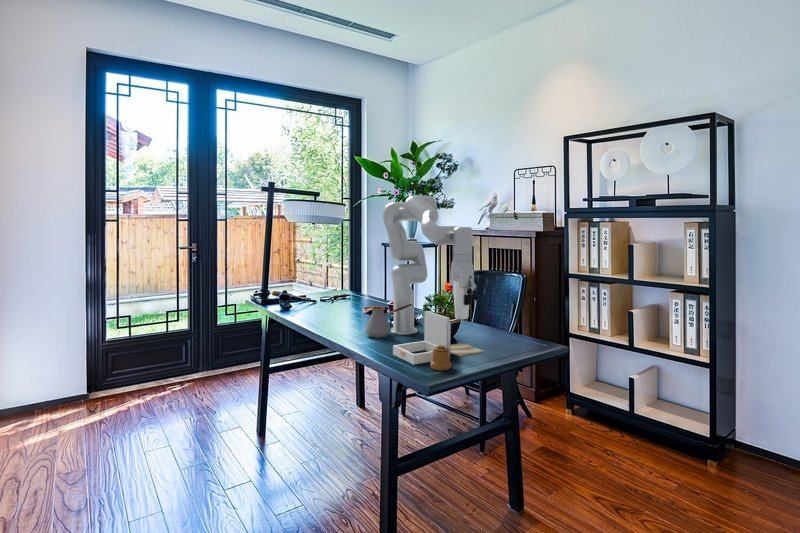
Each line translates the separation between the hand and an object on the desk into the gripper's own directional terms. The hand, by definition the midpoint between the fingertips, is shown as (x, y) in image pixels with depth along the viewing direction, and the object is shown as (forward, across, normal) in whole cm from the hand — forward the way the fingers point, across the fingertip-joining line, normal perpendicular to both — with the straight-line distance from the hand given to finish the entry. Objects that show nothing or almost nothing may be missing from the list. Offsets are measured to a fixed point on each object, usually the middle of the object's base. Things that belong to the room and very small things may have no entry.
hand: (461, 302), depth 188 cm
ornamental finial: (+20, +14, -20) cm, 31 cm away
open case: (+19, -1, -19) cm, 27 cm away
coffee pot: (+19, -34, -14) cm, 42 cm away
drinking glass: (+6, 0, 0) cm, 6 cm away
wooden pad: (+19, 0, 0) cm, 19 cm away
